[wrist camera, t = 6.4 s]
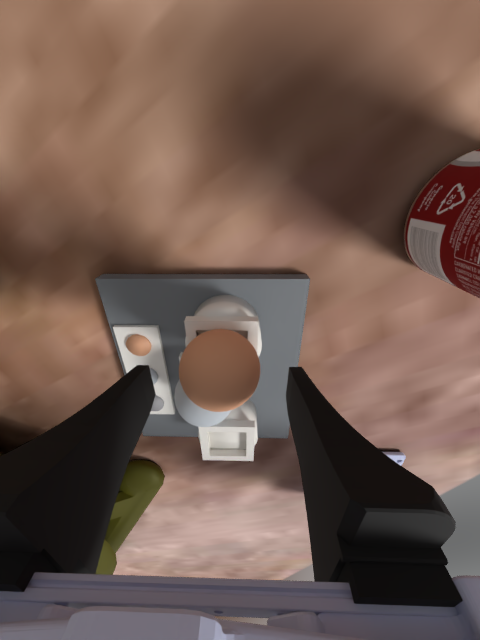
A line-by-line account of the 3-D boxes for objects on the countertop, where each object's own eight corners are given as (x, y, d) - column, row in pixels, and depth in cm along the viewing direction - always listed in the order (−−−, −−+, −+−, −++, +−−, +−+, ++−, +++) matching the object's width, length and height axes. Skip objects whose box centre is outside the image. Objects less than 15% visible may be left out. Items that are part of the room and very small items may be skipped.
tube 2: (255, 430, 23) (257, 463, 20) (205, 429, 23) (199, 462, 20) (257, 393, 21) (258, 424, 18) (200, 392, 21) (193, 423, 18)
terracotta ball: (257, 372, 16) (261, 430, 12) (191, 372, 16) (175, 430, 13) (259, 314, 14) (265, 363, 10) (183, 314, 14) (162, 362, 10)
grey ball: (237, 393, 21) (235, 441, 17) (185, 393, 21) (171, 440, 17) (236, 351, 19) (233, 395, 15) (179, 351, 19) (161, 394, 15)
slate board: (286, 429, 24) (288, 444, 23) (147, 427, 25) (141, 441, 23) (306, 274, 17) (312, 282, 15) (102, 273, 17) (89, 281, 15)
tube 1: (258, 353, 19) (260, 381, 16) (196, 352, 19) (187, 380, 16) (261, 294, 16) (263, 316, 14) (189, 294, 16) (178, 316, 14)
